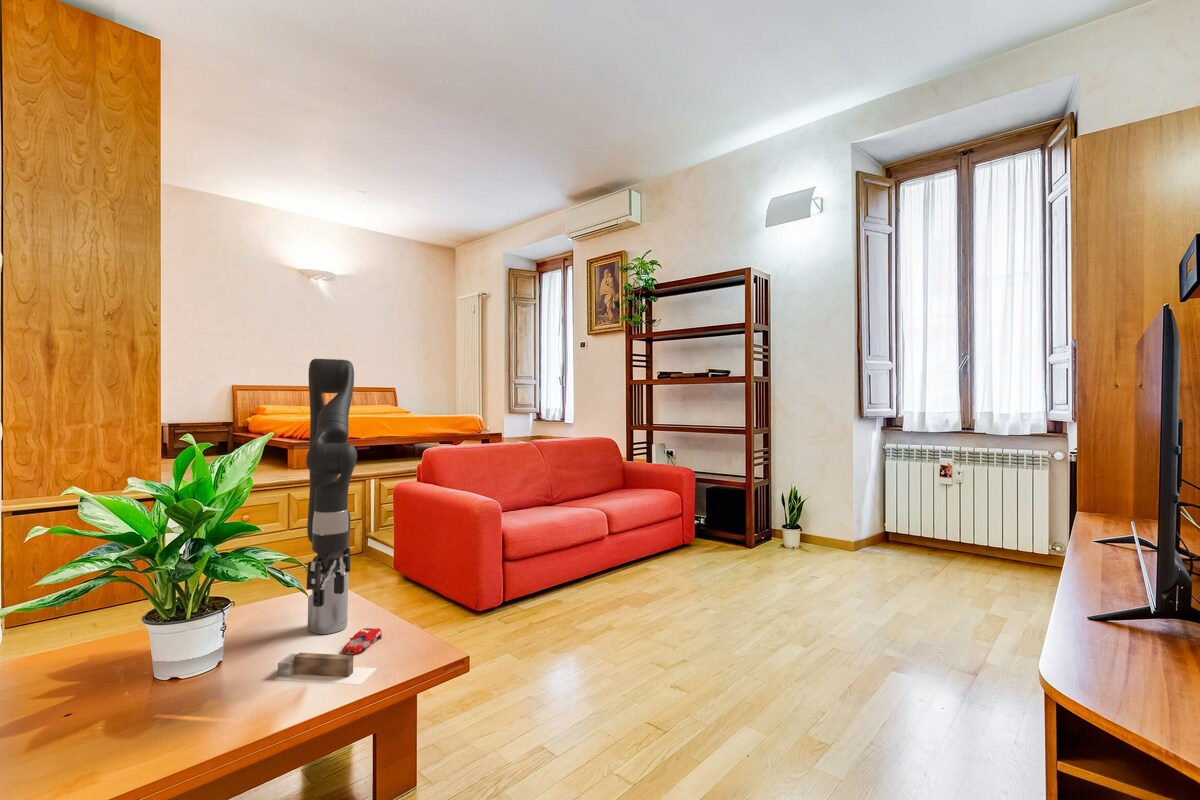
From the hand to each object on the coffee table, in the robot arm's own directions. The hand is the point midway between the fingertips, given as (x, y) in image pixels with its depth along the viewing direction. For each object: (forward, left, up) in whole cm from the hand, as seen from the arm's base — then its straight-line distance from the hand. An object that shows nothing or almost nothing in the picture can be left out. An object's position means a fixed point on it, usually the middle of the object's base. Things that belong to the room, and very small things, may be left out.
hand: (329, 599), depth 133 cm
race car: (0, +16, -18) cm, 25 cm away
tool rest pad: (0, 0, -18) cm, 18 cm away
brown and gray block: (-1, 0, -17) cm, 17 cm away
